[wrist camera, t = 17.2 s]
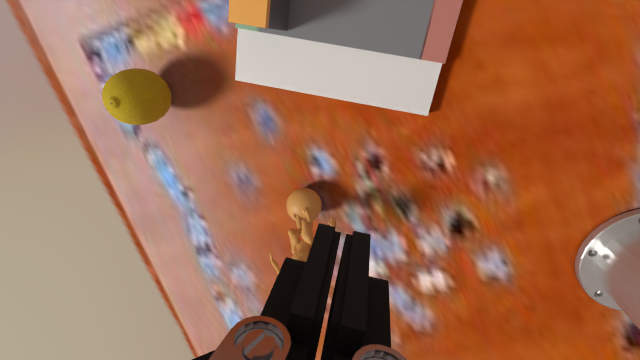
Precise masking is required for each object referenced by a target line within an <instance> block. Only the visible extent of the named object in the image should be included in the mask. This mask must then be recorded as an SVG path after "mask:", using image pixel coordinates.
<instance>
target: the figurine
mask: <svg viewBox="0 0 640 360" xmlns="http://www.w3.org/2000/svg"><path fill="white" fill-rule="evenodd" d="M321 208H322V203H321V199H320V197H319V195H318V194H317V193H316V192H315V191H313V190H311V189H309V188H300V189H297V190H295V191H294V192H292V193H291V195H290V196H289V198H288V200H287V211H288V213H289V215H290V217H291V218H292V219H294V220H295V221H296V222H297V226H298V229H290V230H289V231H288V234H289V236H290V241H291V244H292V253H293V254H294V255H293V256H292V259H296V260H300V261H305V262H306V261H307V258H308V255H309V252H310V246H311V245H312V243H313V240H314V237H313V233H312V229H311V228H312V227H313V222H312V221H313V220H315V219H316V218H317V217H318V215H319V214H320V212H321ZM330 220H331V223H329V222H328V223H329V225H331V226H334V227H336V219H335V221H334V218H333V221H332V219H331V218H330ZM301 223H302V224H301ZM300 234H301V236H302V238H303V239H304V241H300V237H299V236H298V235H300ZM270 260H271V263H272V265H273V267H274V268H275V269H276V271H277V273H278V274H279V272H280V268H279V266H278V264H277V263H276V262H275V261H274V260H273V258H272V253H271V251H270Z"/></svg>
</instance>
